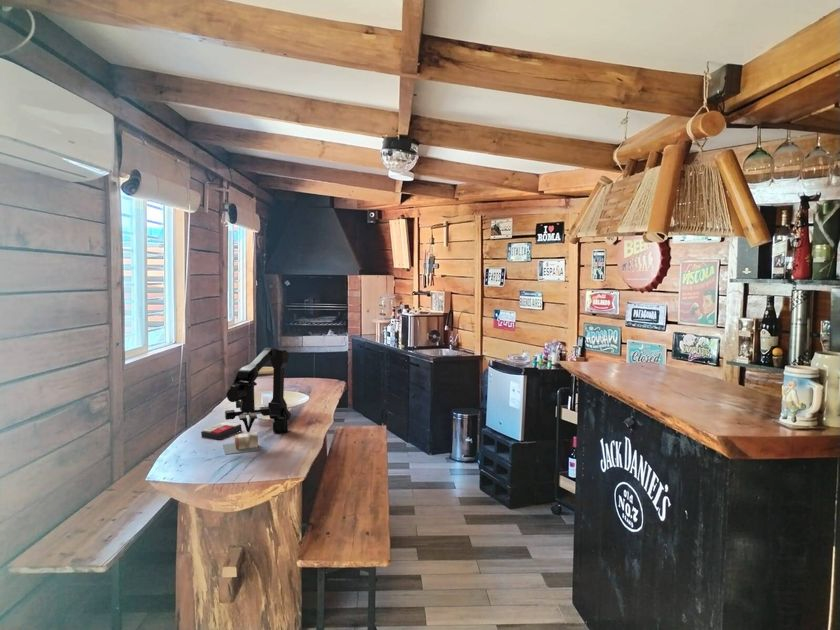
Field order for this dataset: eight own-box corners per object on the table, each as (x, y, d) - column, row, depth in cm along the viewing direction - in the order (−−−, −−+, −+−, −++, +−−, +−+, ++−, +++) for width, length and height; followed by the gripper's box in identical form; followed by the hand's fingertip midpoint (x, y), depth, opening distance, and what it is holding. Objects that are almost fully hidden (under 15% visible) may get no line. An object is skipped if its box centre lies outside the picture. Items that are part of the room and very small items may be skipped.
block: (256, 432, 236) (234, 434, 233) (257, 435, 232) (236, 438, 228) (256, 443, 237) (235, 446, 233) (257, 446, 232) (236, 449, 229)
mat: (253, 441, 241) (253, 440, 241) (257, 450, 228) (257, 449, 228) (223, 445, 235) (223, 444, 235) (225, 454, 223) (225, 454, 223)
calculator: (200, 430, 247) (223, 420, 261) (201, 439, 248) (224, 428, 261) (219, 432, 243) (241, 422, 257) (219, 441, 243) (242, 431, 257)
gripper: (266, 391, 243) (267, 425, 244) (223, 395, 235) (224, 429, 236) (270, 396, 233) (271, 431, 234) (225, 400, 225) (226, 436, 226)
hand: (248, 432), depth 233 cm, fingers closed
